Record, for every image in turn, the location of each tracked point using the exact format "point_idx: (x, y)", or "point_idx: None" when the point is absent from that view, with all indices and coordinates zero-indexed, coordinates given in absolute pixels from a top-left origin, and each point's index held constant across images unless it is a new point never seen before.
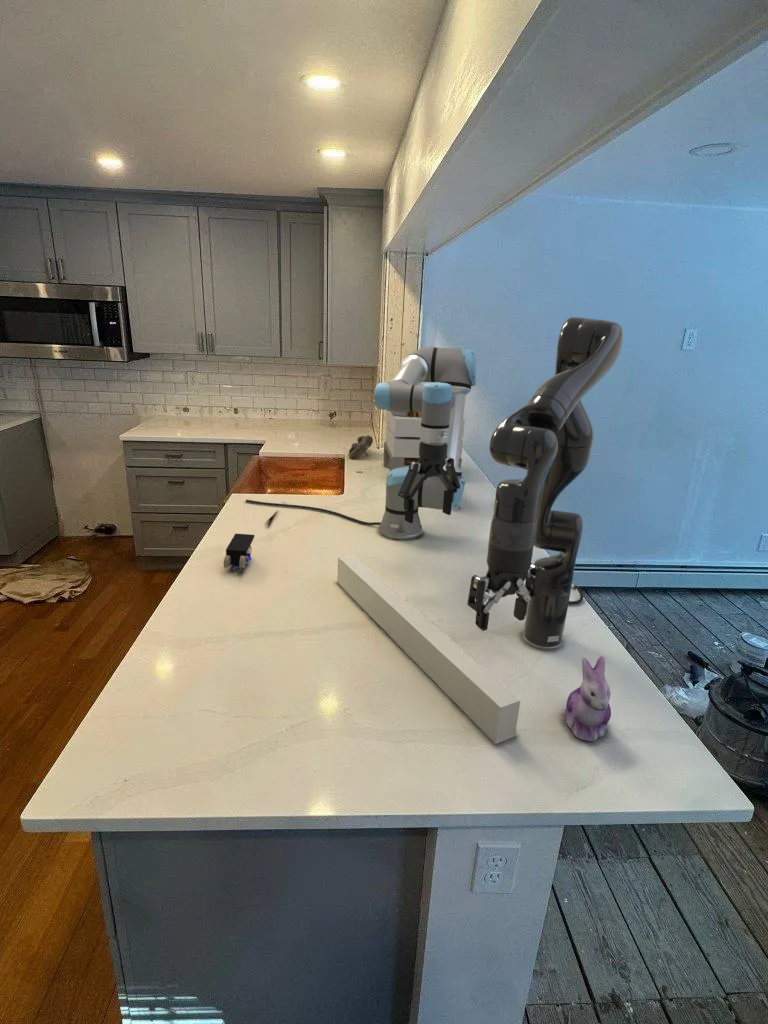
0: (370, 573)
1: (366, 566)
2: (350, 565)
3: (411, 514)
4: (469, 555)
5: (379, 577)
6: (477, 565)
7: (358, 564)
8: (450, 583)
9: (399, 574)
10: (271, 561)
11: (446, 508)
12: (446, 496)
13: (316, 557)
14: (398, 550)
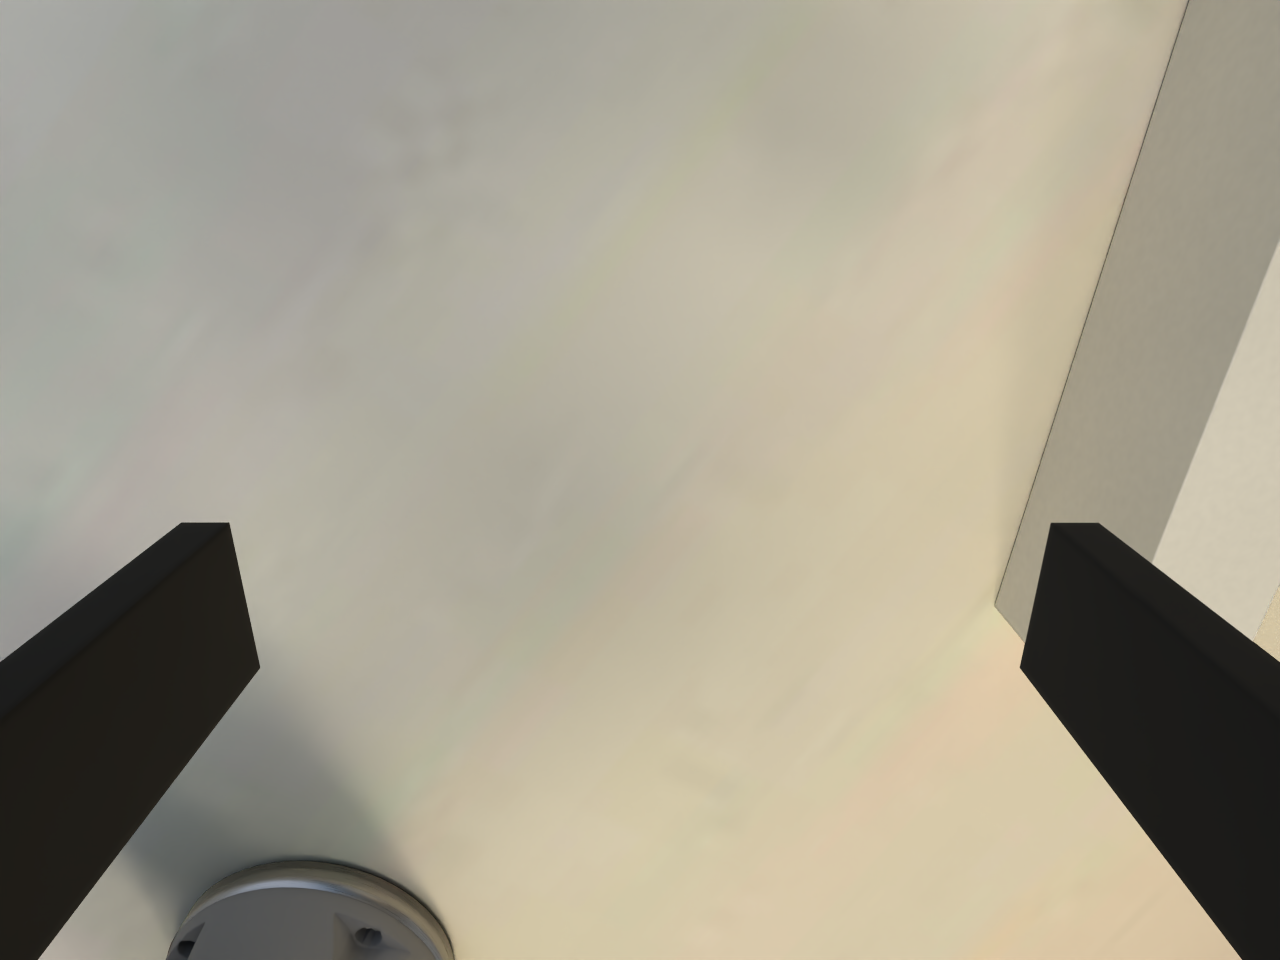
0: (1263, 376)
1: (1183, 499)
2: (1263, 573)
3: (1196, 605)
4: (53, 522)
5: (1270, 270)
6: (83, 367)
7: (1202, 559)
8: (457, 239)
9: (691, 527)
10: (1182, 956)
11: (190, 641)
12: (19, 865)
13: (961, 903)
14: (482, 784)
